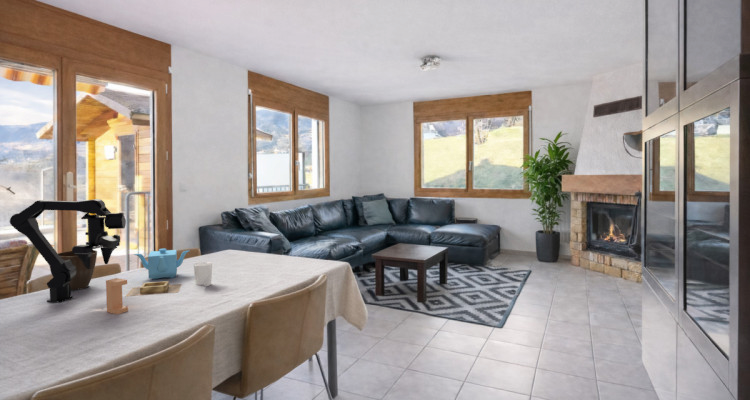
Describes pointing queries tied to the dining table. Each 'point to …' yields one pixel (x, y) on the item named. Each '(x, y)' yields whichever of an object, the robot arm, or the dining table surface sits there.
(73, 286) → the plant pot
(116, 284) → the c link
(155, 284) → the brown tray
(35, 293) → the dining table surface
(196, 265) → the white cup
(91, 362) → the dining table surface
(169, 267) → the teakettle
